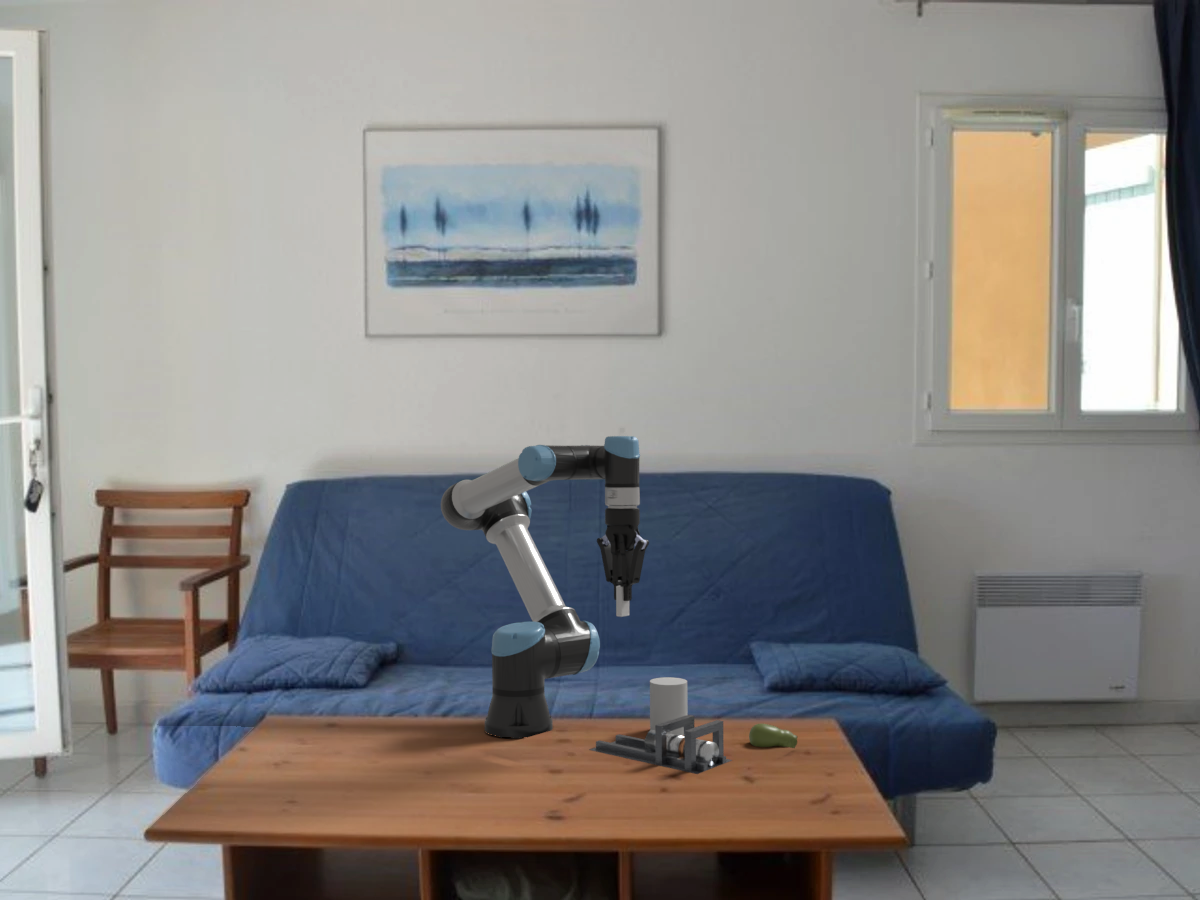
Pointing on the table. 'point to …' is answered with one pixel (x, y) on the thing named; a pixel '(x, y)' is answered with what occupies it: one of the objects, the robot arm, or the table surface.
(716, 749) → the tube
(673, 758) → the collar rail
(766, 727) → the pear
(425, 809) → the table surface
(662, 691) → the white cylinder
